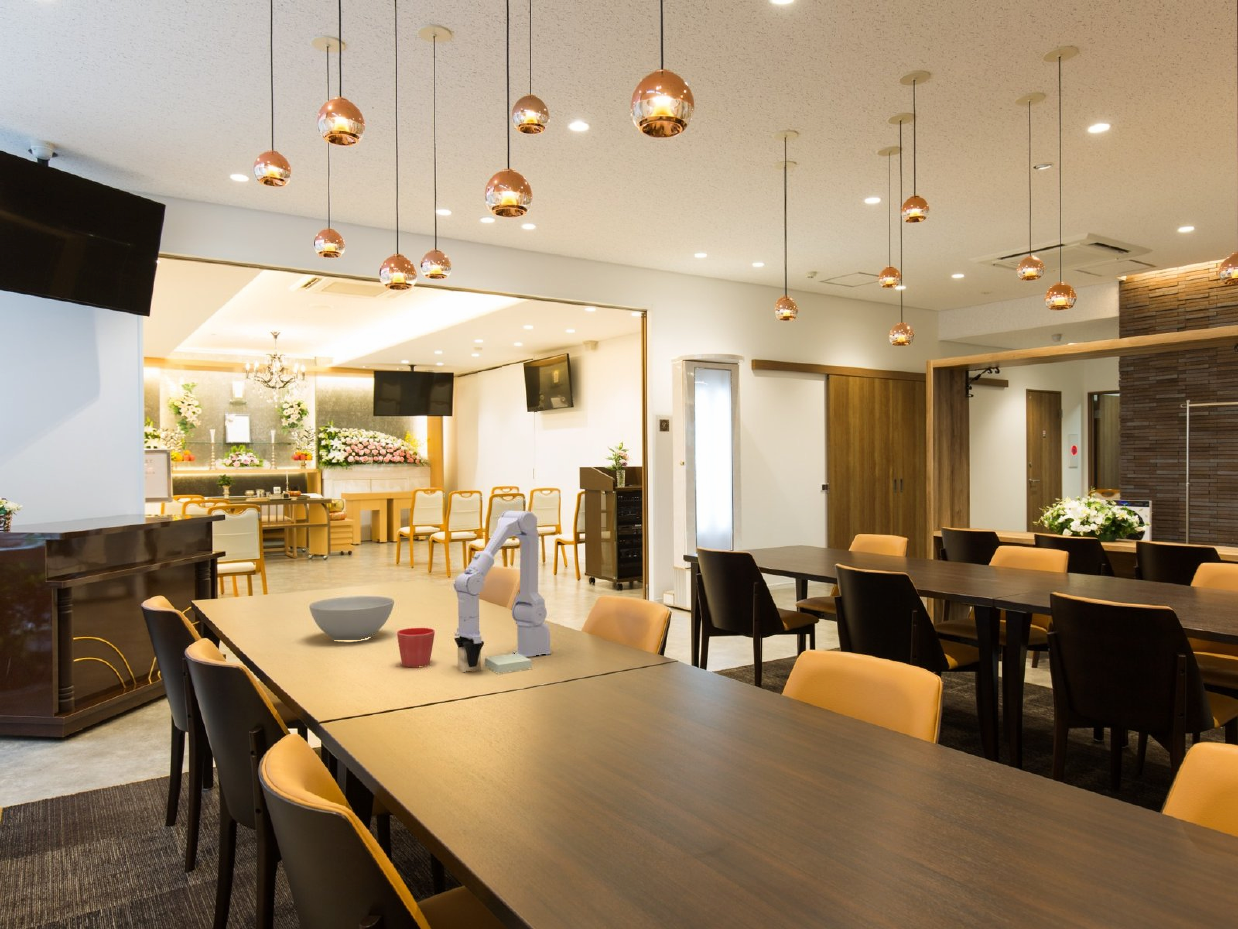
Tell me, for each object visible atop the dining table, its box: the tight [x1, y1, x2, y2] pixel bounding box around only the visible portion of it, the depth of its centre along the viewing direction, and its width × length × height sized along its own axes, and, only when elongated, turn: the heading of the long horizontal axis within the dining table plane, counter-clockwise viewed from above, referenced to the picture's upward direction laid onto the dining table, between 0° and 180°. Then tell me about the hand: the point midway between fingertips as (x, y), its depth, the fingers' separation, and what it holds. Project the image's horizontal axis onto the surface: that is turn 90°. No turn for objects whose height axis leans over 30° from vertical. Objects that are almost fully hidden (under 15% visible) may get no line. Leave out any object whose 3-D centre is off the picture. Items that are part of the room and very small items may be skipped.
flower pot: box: [396, 627, 436, 668], centre depth 235 cm, size 11×11×10 cm
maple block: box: [457, 647, 482, 673], centre depth 229 cm, size 5×5×6 cm
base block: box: [484, 653, 532, 674], centre depth 230 cm, size 10×10×3 cm
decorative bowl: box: [309, 595, 395, 640], centre depth 271 cm, size 27×27×12 cm
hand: (469, 664), depth 229 cm, fingers closed on maple block, 5 cm apart
